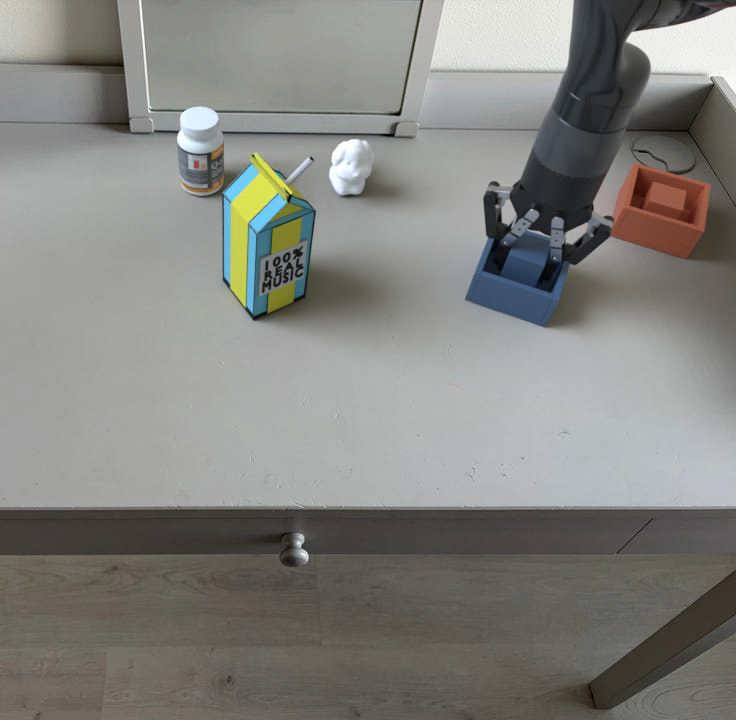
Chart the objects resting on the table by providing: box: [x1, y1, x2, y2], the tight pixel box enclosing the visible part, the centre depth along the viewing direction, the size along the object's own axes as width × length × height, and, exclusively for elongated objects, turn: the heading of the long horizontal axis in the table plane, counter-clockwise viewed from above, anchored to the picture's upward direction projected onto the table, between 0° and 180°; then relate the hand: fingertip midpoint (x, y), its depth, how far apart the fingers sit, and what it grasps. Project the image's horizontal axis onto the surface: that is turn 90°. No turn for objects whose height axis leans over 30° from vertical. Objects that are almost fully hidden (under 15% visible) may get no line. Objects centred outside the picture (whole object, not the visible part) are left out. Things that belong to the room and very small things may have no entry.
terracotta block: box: [639, 182, 686, 220], centre depth 97 cm, size 4×4×4 cm
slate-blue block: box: [500, 234, 550, 288], centre depth 88 cm, size 4×4×4 cm
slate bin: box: [464, 222, 573, 328], centre depth 90 cm, size 9×9×5 cm
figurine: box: [328, 138, 375, 196], centre depth 98 cm, size 5×8×8 cm
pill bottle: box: [176, 106, 225, 197], centre depth 97 cm, size 6×6×10 cm
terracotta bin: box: [610, 162, 712, 260], centre depth 97 cm, size 9×9×5 cm
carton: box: [221, 151, 317, 321], centre depth 83 cm, size 7×8×18 cm
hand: (520, 271), depth 89 cm, fingers closed on slate-blue block, 4 cm apart
